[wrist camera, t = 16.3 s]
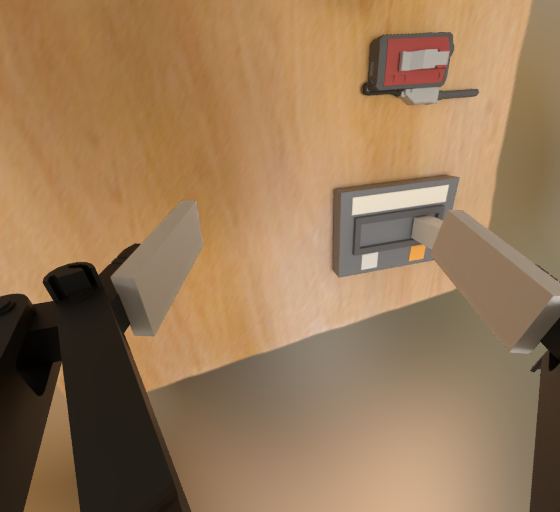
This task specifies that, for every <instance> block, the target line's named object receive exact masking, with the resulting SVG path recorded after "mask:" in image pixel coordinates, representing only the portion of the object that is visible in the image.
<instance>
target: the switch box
mask: <svg viewBox="0 0 560 512" xmlns="http://www.w3.org/2000/svg"><path fill="white" fill-rule="evenodd" d="M458 182H459V177H454V176H449V175H441V176H434V177H426V178H418V179H410V180H402V181H395V182H387V183H379V184H371V185H363V186H356V187H348V188H340V189H334V220H333V271H334V272H335V273H336V275H337V276H338V277H344V276H350V275H355V274H361V273H366V272H372V271H377V270H383V269H388V268H394V267H399V266H404V265H410V264H415V263H421V262H426V261H432V260H434V259H433V258H432V256H431V255H430V253H431V250H432V249H430V248H428V247H427V246H425V245H423V244H421V243H419V242H418V241H416V240H414V239H412V238H411V235H412V228H413V222H414V217H419V216H425V215H431V216H433V217H436V218H438V219H441V220H444V218H445V215H446V213H447V210H452V209H453V204H454V200H455V195H456V191H457V186H458Z"/></svg>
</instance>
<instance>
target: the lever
mask: <svg viewBox="0 0 560 512" xmlns="http://www.w3.org/2000/svg"><path fill="white" fill-rule="evenodd" d="M442 223H443V220H441V219H438V218H436V217H433V216H431V215H425V216H419V217H414V222H413V228H412V235H411V238H412V239H414V240H416V241H418V242H419V243H421V244H423V245H425V246H427V247H428V248H430V249H432V248H433V245H434V243H435V240H436V238H437V235H438V233H439V230H440V228H441V225H442Z"/></svg>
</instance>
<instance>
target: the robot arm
mask: <svg viewBox="0 0 560 512" xmlns="http://www.w3.org/2000/svg"><path fill="white" fill-rule="evenodd" d="M202 247H203V239H202V233H201V226H200V220H199V213H198V207H197V201H196V200H182V201H181V202H180V203H179V204H178V205H177V206H176V207H175V208H174V209H173V210H172V211H171V212H170V213H169V215H168V216H167V217H166V218H165V219H164V220H163V221H162V222H161V223H160V224H159V225H158V226H157V227H156V229H155V230H154V231H153V232H152V233H151V234H150V235H149V236H148V237H147V238H146V239H145V240H144V241H143V243H142V244H133V245H132V246H130V247H128V248H126V249H124V250H123V251H122V252H121V253H120V254H119V255H118V256H117V258H115V259H114V260H113V261H112V262H111V264H109V265H108V266H107V267H106V268H105V269H104V270H103V271H102V272H101V273H100V274H99V275H98V273H97V271H96V269H95V267H94V266H93V265H92V264H91V263H87V262H76V263H71V264H67V265H64V266H61V267H58V268H56V269H55V270H53V271H51V272H50V273H48V274H47V275H46V276H45V277H44V279H43V284H44V286H45V287H46V289H47V291H48V292H49V294H50V296H51V297H52V299H53V301H51V302H45V303H39V304H33V305H32V303H31V302H30V300H29V298H28V297H27V296H25V295H24V294H9V295H5V296H1V297H0V512H23V511H24V507H25V503H26V499H27V496H28V492H29V488H30V484H31V480H32V476H33V472H34V468H35V464H36V460H37V457H38V452H39V449H40V445H41V441H42V437H43V433H44V429H45V425H46V421H47V417H48V413H49V409H50V406H51V402H52V397H53V394H54V390H55V386H56V382H57V378H58V375H59V371H60V367H61V363H62V365H63V374H64V382H65V390H66V398H67V406H68V414H69V423H70V431H71V439H72V447H73V455H74V463H75V472H76V479H77V488H78V496H79V504H80V512H191V510H190V507H189V504H188V502H187V499H186V496H185V494H184V491H183V488H182V486H181V483H180V480H179V478H178V475H177V472H176V470H175V467H174V465H173V462H172V459H171V456H170V454H169V451H168V449H167V446H166V443H165V441H164V438H163V435H162V433H161V430H160V427H159V425H158V422H157V419H156V417H155V414H154V412H153V409H152V406H151V404H150V401H149V398H148V395H147V393H146V390H145V387H144V385H143V382H142V379H141V377H140V374H139V371H138V369H137V366H136V363H135V361H134V358H133V355H132V353H131V350H130V347H129V345H128V342H127V340H126V337H125V335H124V333H125V331H126V330H127V328H128V327H129V325H130V326H131V329H132V331H133V334H134V335H135V336H155V334H156V333H157V331H158V329H159V327H160V325H161V323H162V321H163V320H164V318H165V316H166V314H167V312H168V310H169V308H170V307H171V305H172V303H173V301H174V299H175V297H176V295H177V294H178V292H179V290H180V288H181V286H182V284H183V282H184V281H185V279H186V277H187V275H188V273H189V271H190V269H191V268H192V266H193V264H194V262H195V260H196V258H197V256H198V255H199V253H200V251H201V249H202ZM430 255H431V256H432V258H433V259H434V260H435V261H436V263H437V264H438V265H439V266H440V268H441V269H442V270H443V271H444V273H445V274H446V275H447V276H448V277H449V279H450V280H451V281H452V282H453V284H454V285H455V286H456V287H457V289H458V290H459V291H460V292H461V294H462V295H463V296H464V297H465V298H466V300H467V301H468V302H469V303H470V305H471V306H472V307H473V308H474V310H475V311H476V312H477V313H478V315H479V316H480V317H481V318H482V319H483V321H484V322H485V323H486V324H487V325H488V327H489V328H490V329H491V330H492V332H493V333H494V334H495V336H496V337H497V338H498V339H499V340H500V342H501V343H502V344H503V345H504V346H505V348H506V349H507V350H508V352H511V353H531V352H532V351H533V350H534V349H535V347H536V346H537V345H538V344H539V343H540V342H541V343H542V344H543V345H544V346H545V347H546V348H547V349H548V350H547V352H546V353H545V354H544V355H543V356H542V357H541V358H540V359H539V360H538V361H537V363H536V364H535V365H534V366H533V367H532V369H531V370H530V371H532V372H535V371H536V370H537V369H541V374H540V388H539V401H538V413H537V426H536V438H535V451H534V463H533V464H534V465H533V476H532V489H531V502H530V512H560V282H558V280H557V279H556V278H554V277H553V276H552V275H549V273H548V272H546V271H545V270H544V269H542V268H541V267H540V266H538V265H536V264H534V263H533V262H531V261H530V260H528V259H527V258H526V257H524V256H523V255H522V254H520V253H519V252H518V251H516V250H515V249H514V248H512V247H511V246H510V245H508V244H507V243H505V242H504V241H503V240H502V239H500V238H499V237H498V236H496V235H495V234H493V233H492V232H491V231H489V230H488V229H487V228H485V227H484V226H483V225H481V224H480V223H479V222H477V221H476V220H475V219H473V218H472V217H471V216H469V215H468V214H467V213H465V212H464V211H463V210H447V213H446V215H445V218H444V220H443V223H442V225H441V228H440V230H439V233H438V235H437V238H436V240H435V243H434V245H433V248H432V250H431V253H430Z"/></svg>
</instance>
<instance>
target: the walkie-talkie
mask: <svg viewBox="0 0 560 512" xmlns="http://www.w3.org/2000/svg"><path fill="white" fill-rule="evenodd" d="M453 51H454V44H453V35H452V34H451V32H439V33H422V34H420V33H419V34H407V35H406V34H404V35H403V34H400V35H399V34H397V35H395V34H394V35H392V34H390V35H388V34H387V35H382V36H380V37H378V38H377V39H375V40H374V41H373V42H372V43H371V45H370V53H369V70H368V83H366V84H365V85H364V86H363V93H364V94H365V95H380V94H394V95H395V96H397V97H400V98H401V99H402V100H403V101H404V102H405V103H406V104H408V105H411V104H435V103H437V100H441V99H448V98H461V97H473V96H477V95H478V93H479V90H478V89H470V90H457V91H444V92H443V91H439V88H440V87H441V86H442V85H444V83H445V81H446V78H447V75H448V67H449V62H450V57H451V55H452V53H453ZM367 88H368V89H369V91H370V92H368V91H367ZM399 90H400V91H399ZM397 91H398V92H397Z"/></svg>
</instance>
